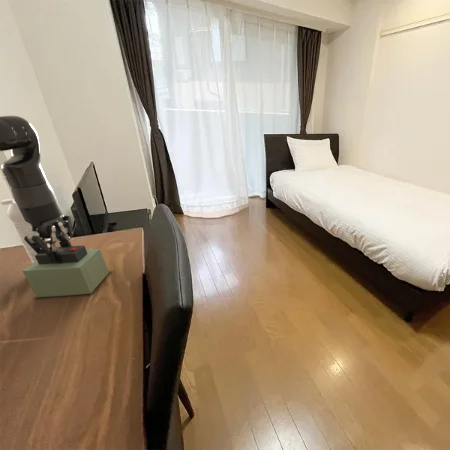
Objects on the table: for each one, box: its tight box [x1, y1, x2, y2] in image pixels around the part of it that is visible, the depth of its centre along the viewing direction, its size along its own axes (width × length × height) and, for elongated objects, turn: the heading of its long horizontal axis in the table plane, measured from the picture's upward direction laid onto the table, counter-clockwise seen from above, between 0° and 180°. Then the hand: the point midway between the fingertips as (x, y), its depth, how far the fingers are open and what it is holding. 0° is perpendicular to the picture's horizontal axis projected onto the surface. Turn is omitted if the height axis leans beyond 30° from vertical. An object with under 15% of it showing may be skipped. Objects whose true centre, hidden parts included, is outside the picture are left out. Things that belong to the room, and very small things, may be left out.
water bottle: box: [0, 194, 50, 264], centre depth 82 cm, size 9×6×25 cm
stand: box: [22, 248, 110, 298], centre depth 79 cm, size 14×10×9 cm
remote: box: [35, 245, 88, 264], centre depth 76 cm, size 10×4×3 cm, turn 97°
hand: (63, 257), depth 76 cm, fingers closed on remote, 4 cm apart
